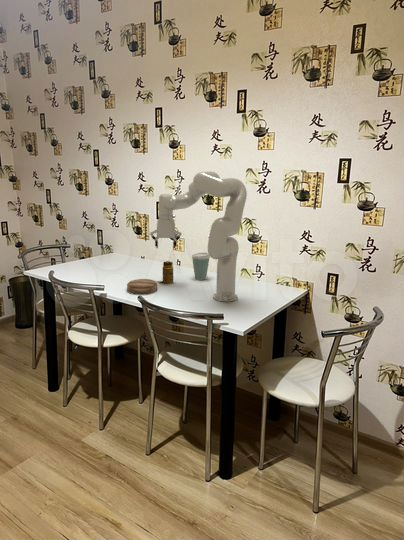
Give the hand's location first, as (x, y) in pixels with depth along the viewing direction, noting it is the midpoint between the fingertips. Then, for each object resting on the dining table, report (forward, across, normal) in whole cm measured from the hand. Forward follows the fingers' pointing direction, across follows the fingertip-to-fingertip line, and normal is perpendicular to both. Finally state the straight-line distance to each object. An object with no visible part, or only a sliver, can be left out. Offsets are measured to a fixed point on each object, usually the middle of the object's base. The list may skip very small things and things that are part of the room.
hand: (165, 247), depth 239 cm
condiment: (+20, 0, 0) cm, 21 cm away
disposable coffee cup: (+20, -20, -8) cm, 30 cm away
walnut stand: (+20, +12, +14) cm, 27 cm away
